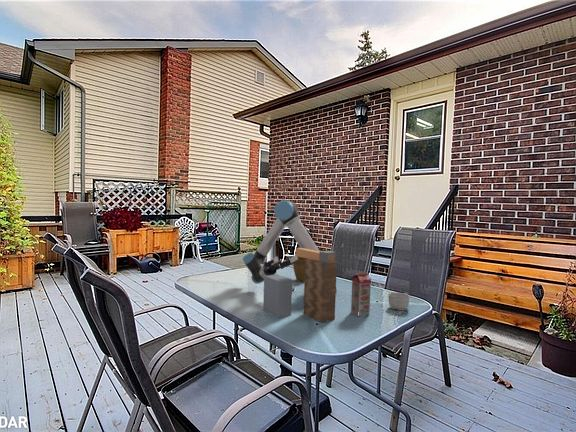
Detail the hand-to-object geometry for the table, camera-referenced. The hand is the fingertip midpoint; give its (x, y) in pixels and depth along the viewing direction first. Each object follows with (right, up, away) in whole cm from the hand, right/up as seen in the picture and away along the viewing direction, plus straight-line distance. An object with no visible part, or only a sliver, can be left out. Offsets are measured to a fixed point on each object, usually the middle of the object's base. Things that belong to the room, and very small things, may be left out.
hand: (287, 257), depth 183 cm
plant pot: (+10, -24, +56) cm, 62 cm away
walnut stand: (+16, -27, -19) cm, 36 cm away
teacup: (+62, -28, -1) cm, 68 cm away
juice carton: (+37, -27, -13) cm, 48 cm away
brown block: (+13, +1, -16) cm, 21 cm away
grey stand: (-5, -26, -15) cm, 31 cm away
